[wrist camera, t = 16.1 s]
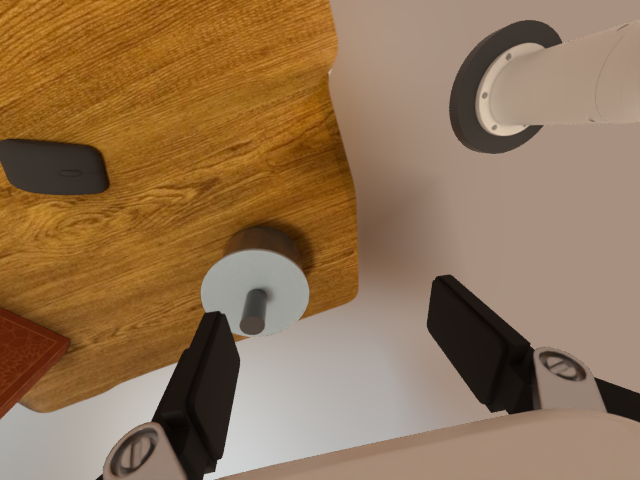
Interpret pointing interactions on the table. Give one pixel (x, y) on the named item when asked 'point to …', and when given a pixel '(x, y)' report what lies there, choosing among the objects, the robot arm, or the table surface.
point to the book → (24, 356)
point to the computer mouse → (52, 167)
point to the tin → (264, 243)
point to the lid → (256, 291)
